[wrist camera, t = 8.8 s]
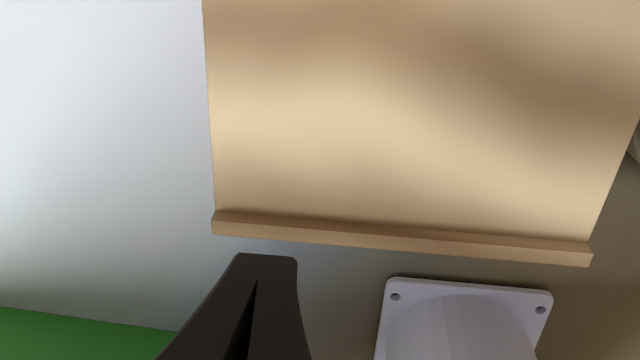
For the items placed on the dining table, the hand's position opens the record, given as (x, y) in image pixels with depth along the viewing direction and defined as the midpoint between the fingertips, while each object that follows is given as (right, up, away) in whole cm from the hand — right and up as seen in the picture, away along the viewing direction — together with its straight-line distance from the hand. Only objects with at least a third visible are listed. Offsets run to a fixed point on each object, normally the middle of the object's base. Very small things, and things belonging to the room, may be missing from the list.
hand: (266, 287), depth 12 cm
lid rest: (+5, +8, +7) cm, 12 cm away
